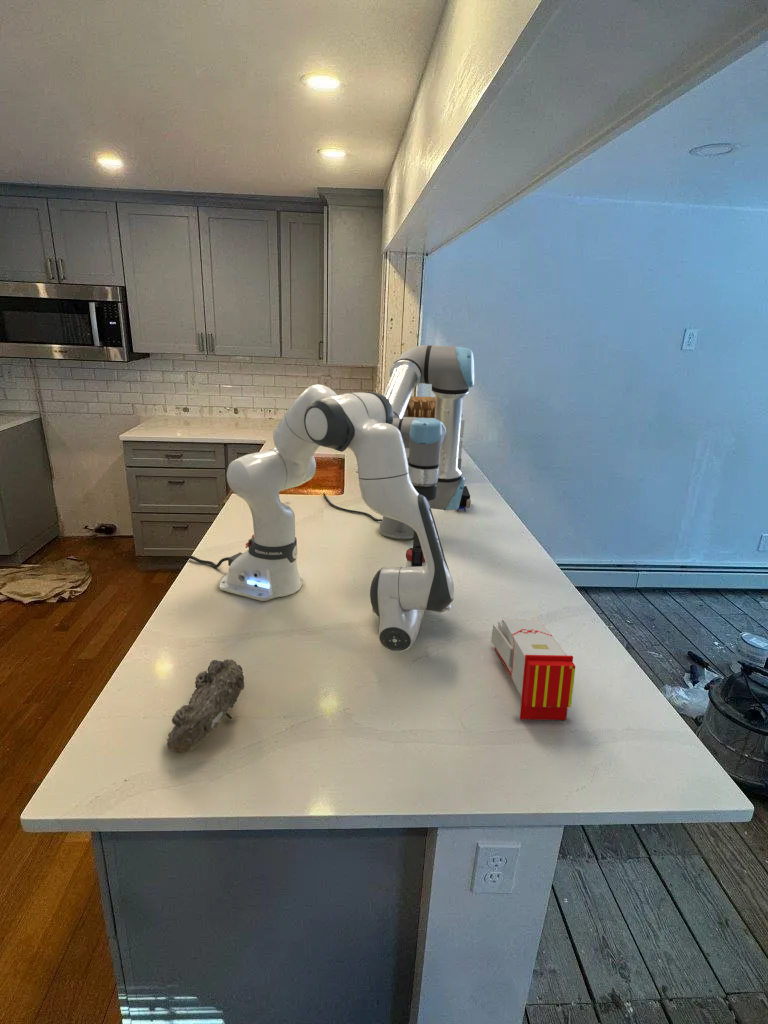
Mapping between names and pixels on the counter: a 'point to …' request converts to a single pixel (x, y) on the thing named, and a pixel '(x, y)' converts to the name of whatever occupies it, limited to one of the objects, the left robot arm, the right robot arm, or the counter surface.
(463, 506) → the figurine character
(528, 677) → the toy
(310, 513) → the counter surface
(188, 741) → the fossil
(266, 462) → the left robot arm
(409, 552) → the lid
